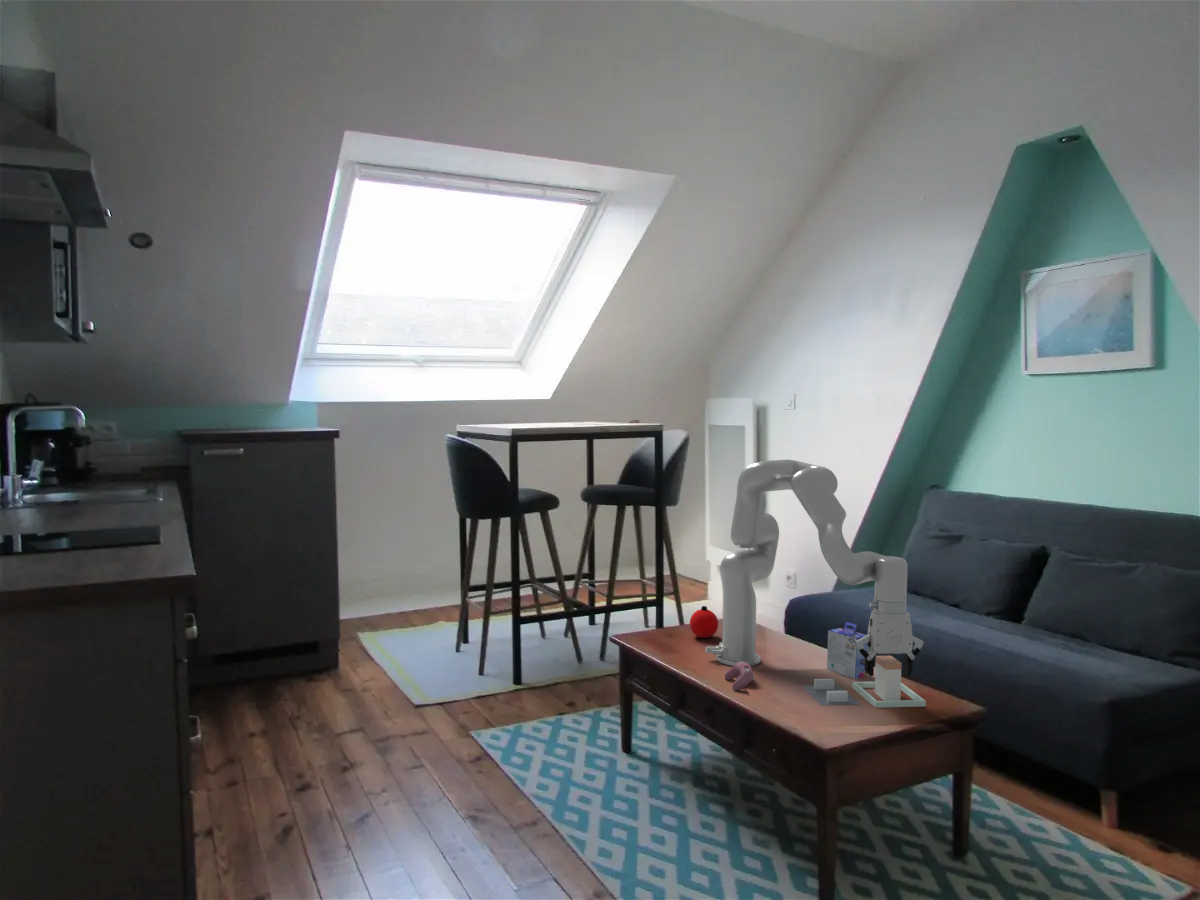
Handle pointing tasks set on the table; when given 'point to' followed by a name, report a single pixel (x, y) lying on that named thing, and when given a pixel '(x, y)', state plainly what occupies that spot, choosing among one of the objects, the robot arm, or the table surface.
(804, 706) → the table surface
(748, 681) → the video game controller
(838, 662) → the ink cartridge box
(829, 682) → the block
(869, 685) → the tray
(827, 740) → the table surface
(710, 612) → the ornament
